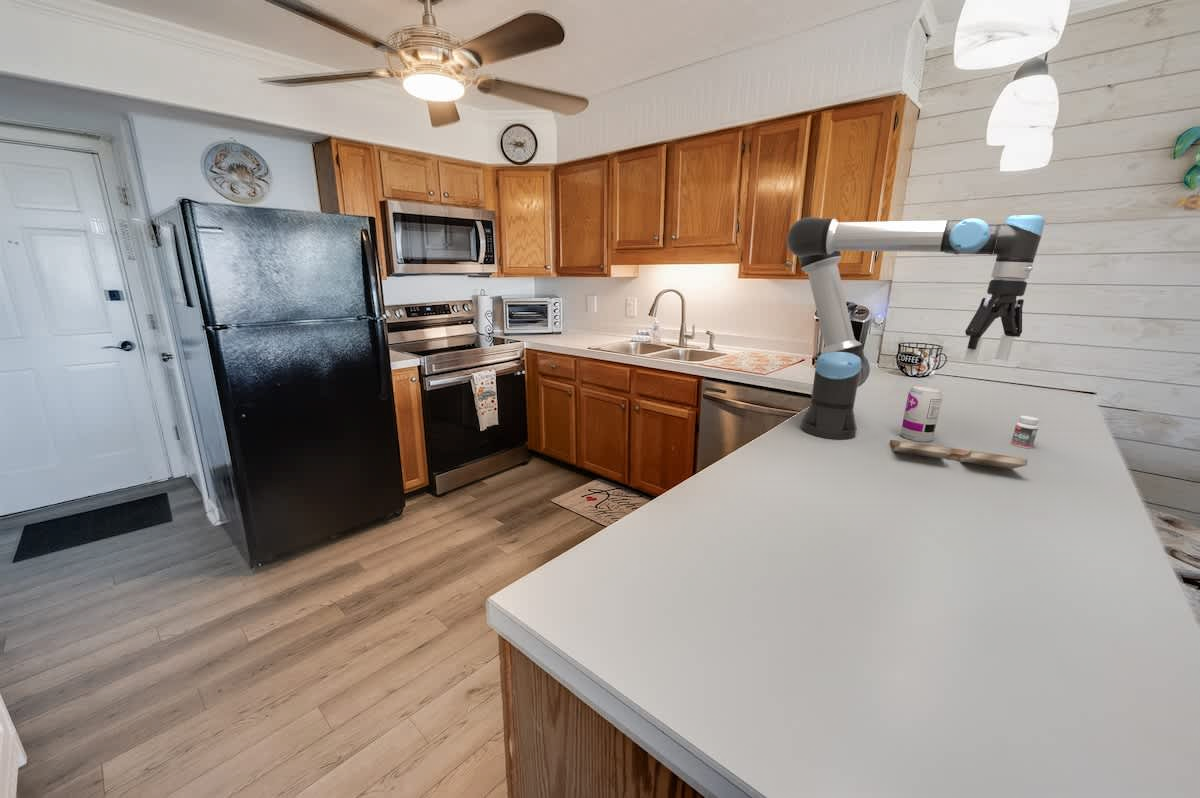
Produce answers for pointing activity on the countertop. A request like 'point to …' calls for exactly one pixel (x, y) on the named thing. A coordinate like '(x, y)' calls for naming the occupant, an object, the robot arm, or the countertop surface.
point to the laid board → (954, 452)
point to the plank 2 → (993, 460)
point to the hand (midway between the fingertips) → (986, 360)
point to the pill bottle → (1025, 432)
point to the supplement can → (921, 413)
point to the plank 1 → (922, 449)
